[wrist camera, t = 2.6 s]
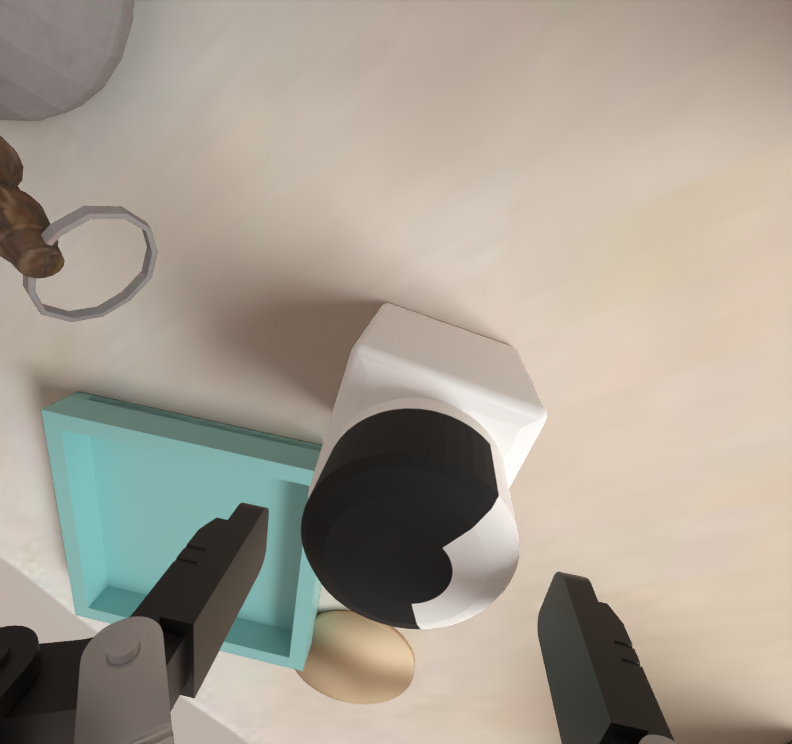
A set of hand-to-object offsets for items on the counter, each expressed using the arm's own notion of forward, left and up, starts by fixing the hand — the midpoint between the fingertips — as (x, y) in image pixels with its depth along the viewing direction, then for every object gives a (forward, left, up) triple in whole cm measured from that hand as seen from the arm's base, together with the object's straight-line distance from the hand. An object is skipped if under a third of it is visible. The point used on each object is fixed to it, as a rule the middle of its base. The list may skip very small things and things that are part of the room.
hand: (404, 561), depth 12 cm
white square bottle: (0, 0, -12) cm, 12 cm away
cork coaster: (+22, -1, -11) cm, 24 cm away
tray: (+13, -12, -11) cm, 21 cm away
